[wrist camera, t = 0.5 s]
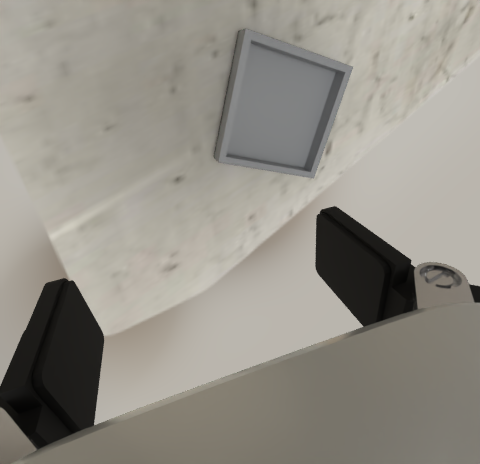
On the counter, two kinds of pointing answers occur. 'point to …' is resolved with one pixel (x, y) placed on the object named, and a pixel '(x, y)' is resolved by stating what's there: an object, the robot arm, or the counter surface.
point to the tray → (279, 106)
